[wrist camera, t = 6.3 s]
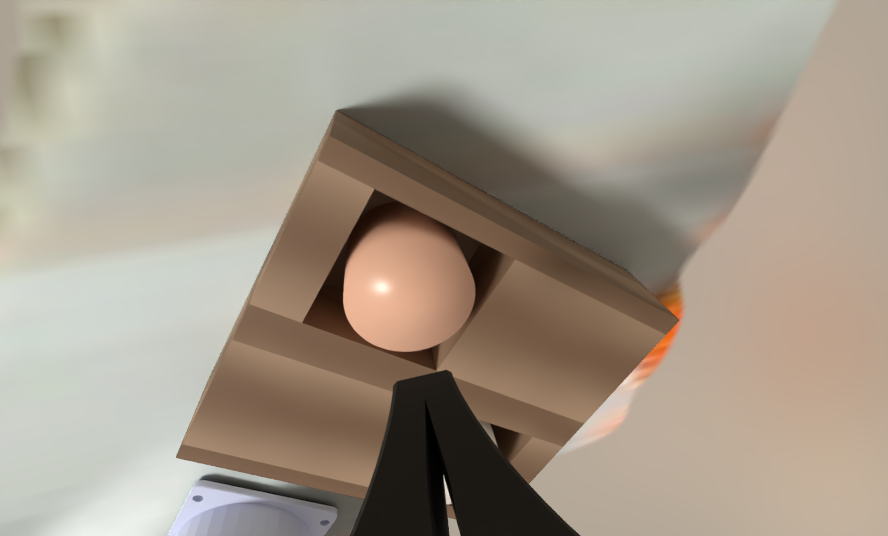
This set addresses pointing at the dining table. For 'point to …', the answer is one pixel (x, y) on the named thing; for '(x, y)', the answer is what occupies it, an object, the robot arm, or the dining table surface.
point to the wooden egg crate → (464, 354)
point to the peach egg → (405, 279)
